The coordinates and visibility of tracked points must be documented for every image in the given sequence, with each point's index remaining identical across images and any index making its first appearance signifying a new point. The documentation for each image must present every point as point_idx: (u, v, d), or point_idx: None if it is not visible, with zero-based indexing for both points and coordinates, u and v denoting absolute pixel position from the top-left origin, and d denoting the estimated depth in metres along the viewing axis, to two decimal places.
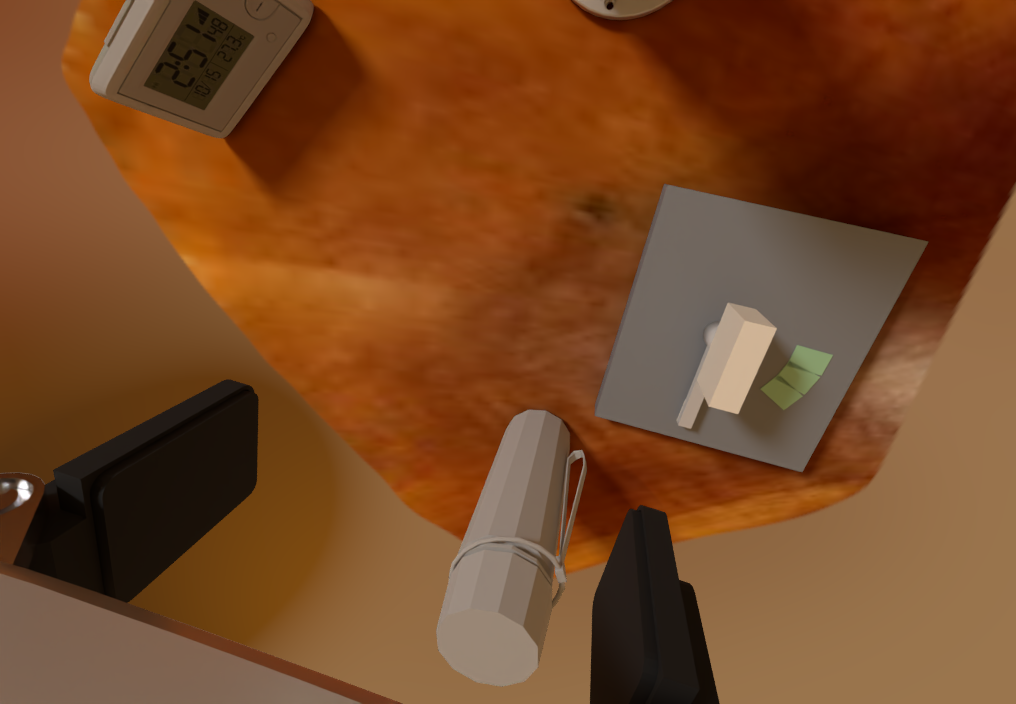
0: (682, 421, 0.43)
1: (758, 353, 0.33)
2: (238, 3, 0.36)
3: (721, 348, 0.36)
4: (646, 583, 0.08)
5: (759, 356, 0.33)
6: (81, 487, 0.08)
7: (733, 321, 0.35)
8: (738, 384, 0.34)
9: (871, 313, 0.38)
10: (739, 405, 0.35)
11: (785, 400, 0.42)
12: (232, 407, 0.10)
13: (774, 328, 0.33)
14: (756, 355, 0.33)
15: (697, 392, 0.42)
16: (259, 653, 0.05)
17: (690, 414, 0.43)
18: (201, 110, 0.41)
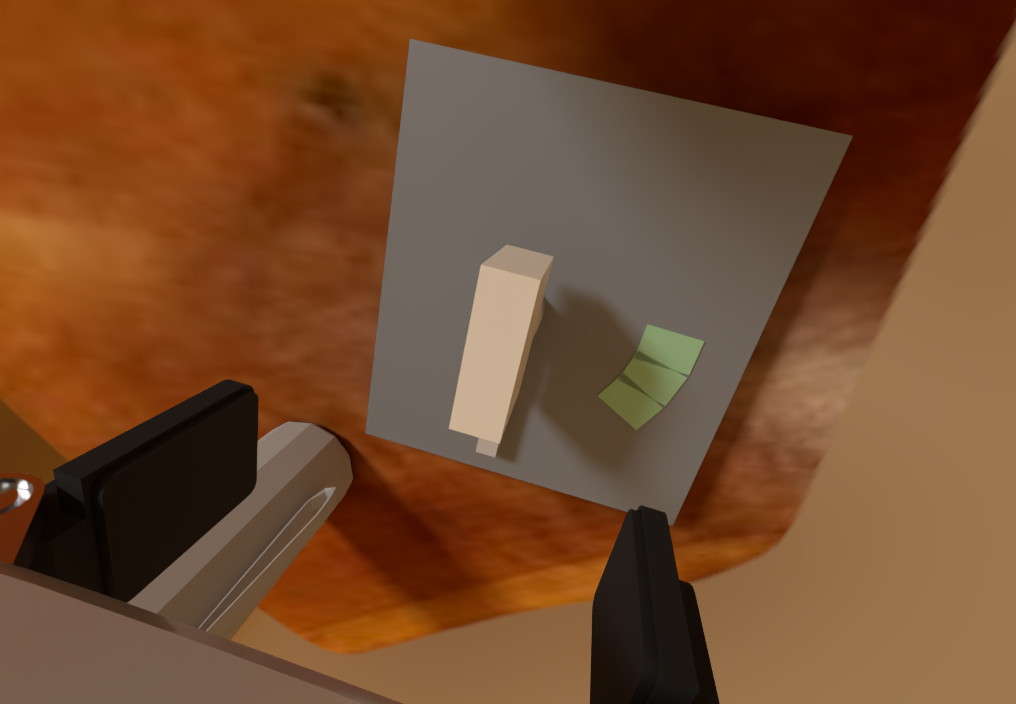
0: (480, 444, 0.27)
1: (515, 330, 0.17)
2: None
3: None
4: (646, 583, 0.08)
5: (518, 336, 0.17)
6: (81, 487, 0.08)
7: None
8: (491, 390, 0.18)
9: (762, 269, 0.22)
10: (499, 428, 0.19)
11: (638, 415, 0.26)
12: (232, 407, 0.10)
13: (536, 280, 0.17)
14: (512, 333, 0.17)
15: None
16: (259, 653, 0.05)
17: None
18: None
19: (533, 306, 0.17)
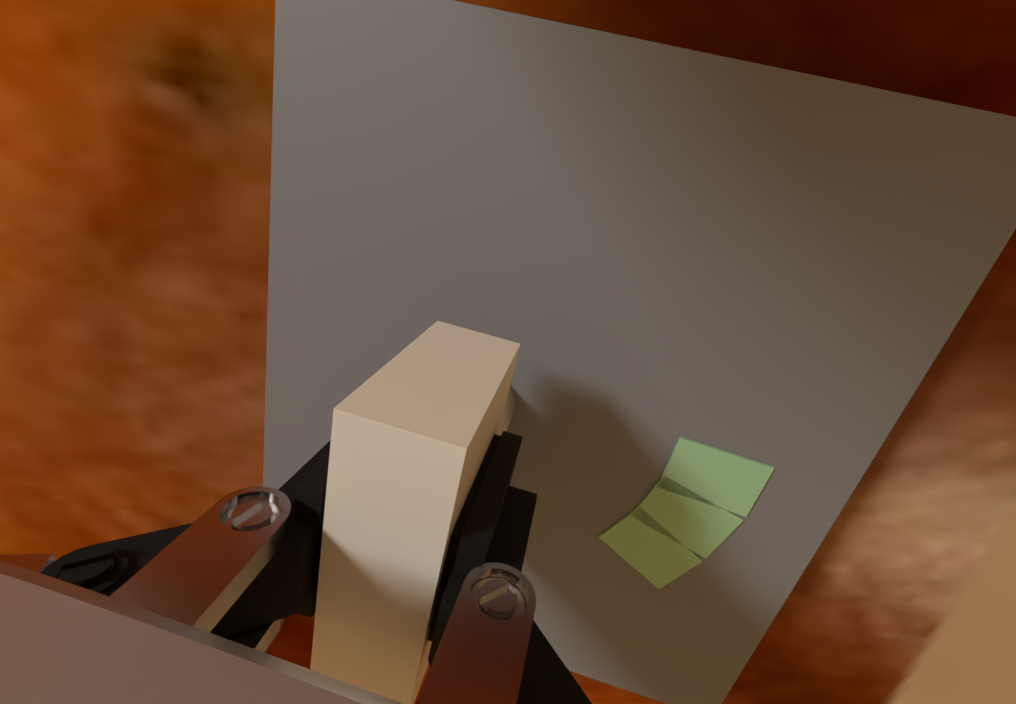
0: None
1: (419, 541, 0.08)
2: None
3: None
4: (480, 482, 0.10)
5: (425, 552, 0.08)
6: (319, 499, 0.08)
7: None
8: (381, 639, 0.09)
9: (881, 360, 0.13)
10: (402, 702, 0.10)
11: (662, 567, 0.17)
12: None
13: (459, 447, 0.07)
14: (413, 546, 0.08)
15: None
16: (259, 653, 0.05)
17: None
18: None
19: (455, 497, 0.08)
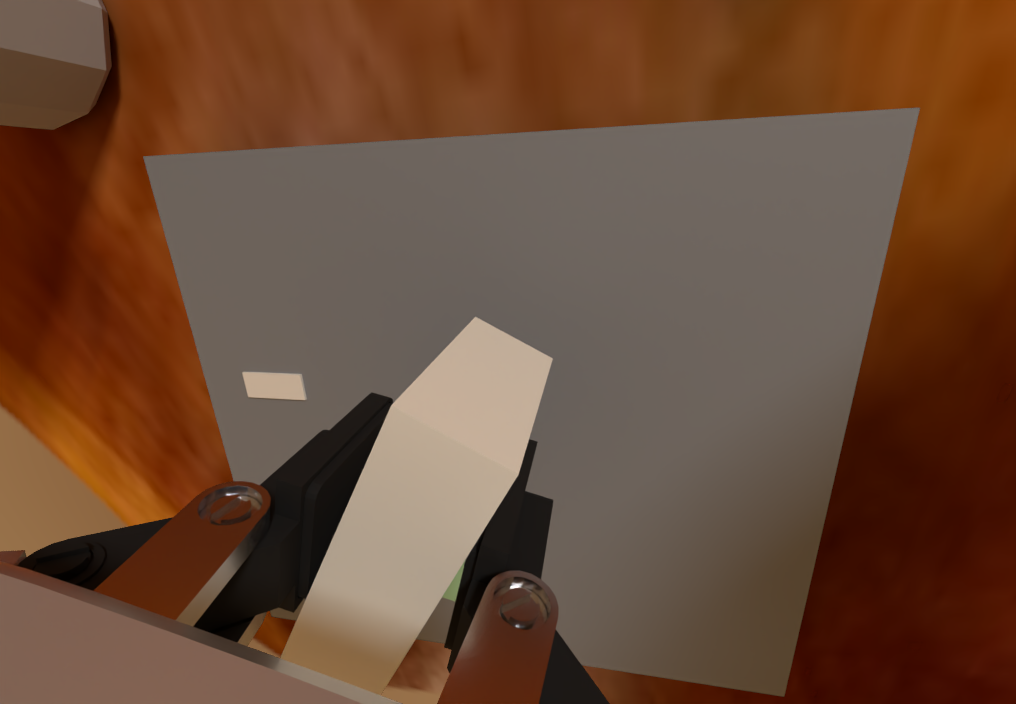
0: None
1: (441, 548, 0.08)
2: None
3: None
4: None
5: (444, 559, 0.08)
6: (299, 494, 0.08)
7: None
8: (371, 629, 0.09)
9: (617, 648, 0.19)
10: (374, 689, 0.10)
11: None
12: (383, 418, 0.11)
13: (510, 470, 0.07)
14: (433, 552, 0.08)
15: None
16: (259, 653, 0.05)
17: None
18: None
19: (490, 515, 0.08)
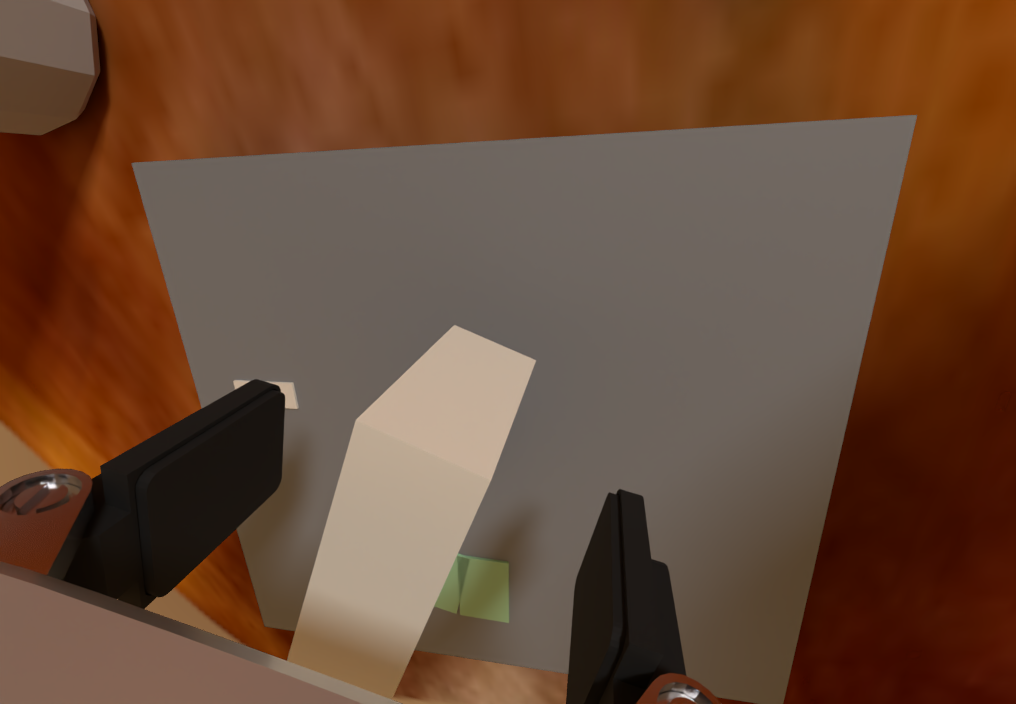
0: None
1: (423, 563, 0.08)
2: None
3: None
4: (619, 560, 0.09)
5: (428, 574, 0.08)
6: (126, 483, 0.08)
7: None
8: (364, 652, 0.09)
9: None
10: None
11: None
12: (262, 406, 0.11)
13: (482, 477, 0.07)
14: (416, 566, 0.08)
15: None
16: (259, 653, 0.05)
17: None
18: None
19: (468, 525, 0.07)
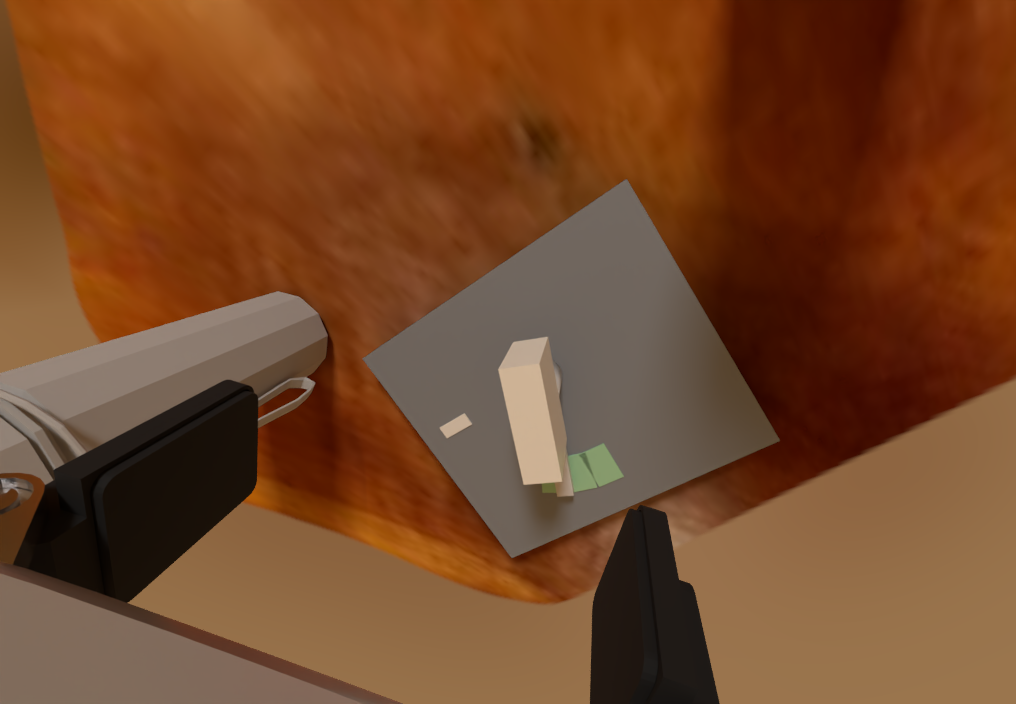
0: (558, 490, 0.34)
1: (537, 401, 0.25)
2: None
3: None
4: (646, 583, 0.08)
5: (541, 404, 0.25)
6: (81, 487, 0.08)
7: None
8: (540, 446, 0.26)
9: (684, 465, 0.33)
10: (557, 470, 0.26)
11: (551, 485, 0.35)
12: (232, 407, 0.10)
13: (537, 364, 0.24)
14: (536, 404, 0.25)
15: None
16: (259, 653, 0.05)
17: (563, 479, 0.34)
18: None
19: (542, 381, 0.24)
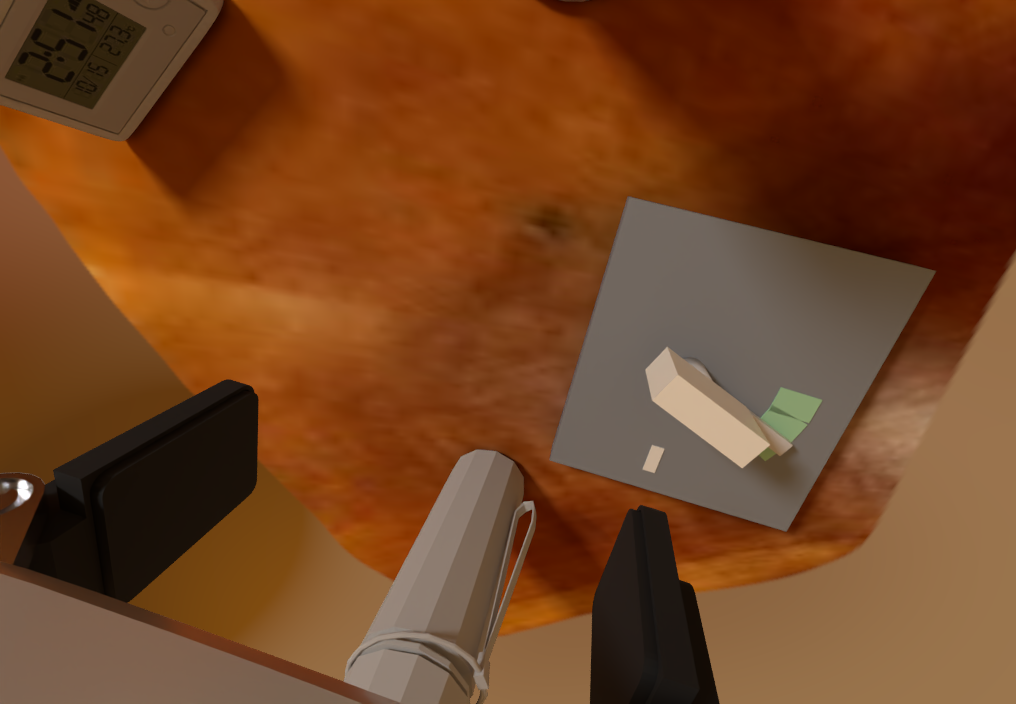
0: (776, 450, 0.35)
1: (699, 400, 0.28)
2: None
3: None
4: (646, 583, 0.08)
5: (704, 400, 0.28)
6: (81, 487, 0.08)
7: None
8: (730, 431, 0.28)
9: (867, 353, 0.33)
10: (758, 439, 0.28)
11: (767, 450, 0.36)
12: (232, 407, 0.10)
13: (676, 376, 0.27)
14: (700, 403, 0.28)
15: None
16: (259, 653, 0.05)
17: (772, 439, 0.35)
18: (88, 109, 0.36)
19: (690, 384, 0.28)
